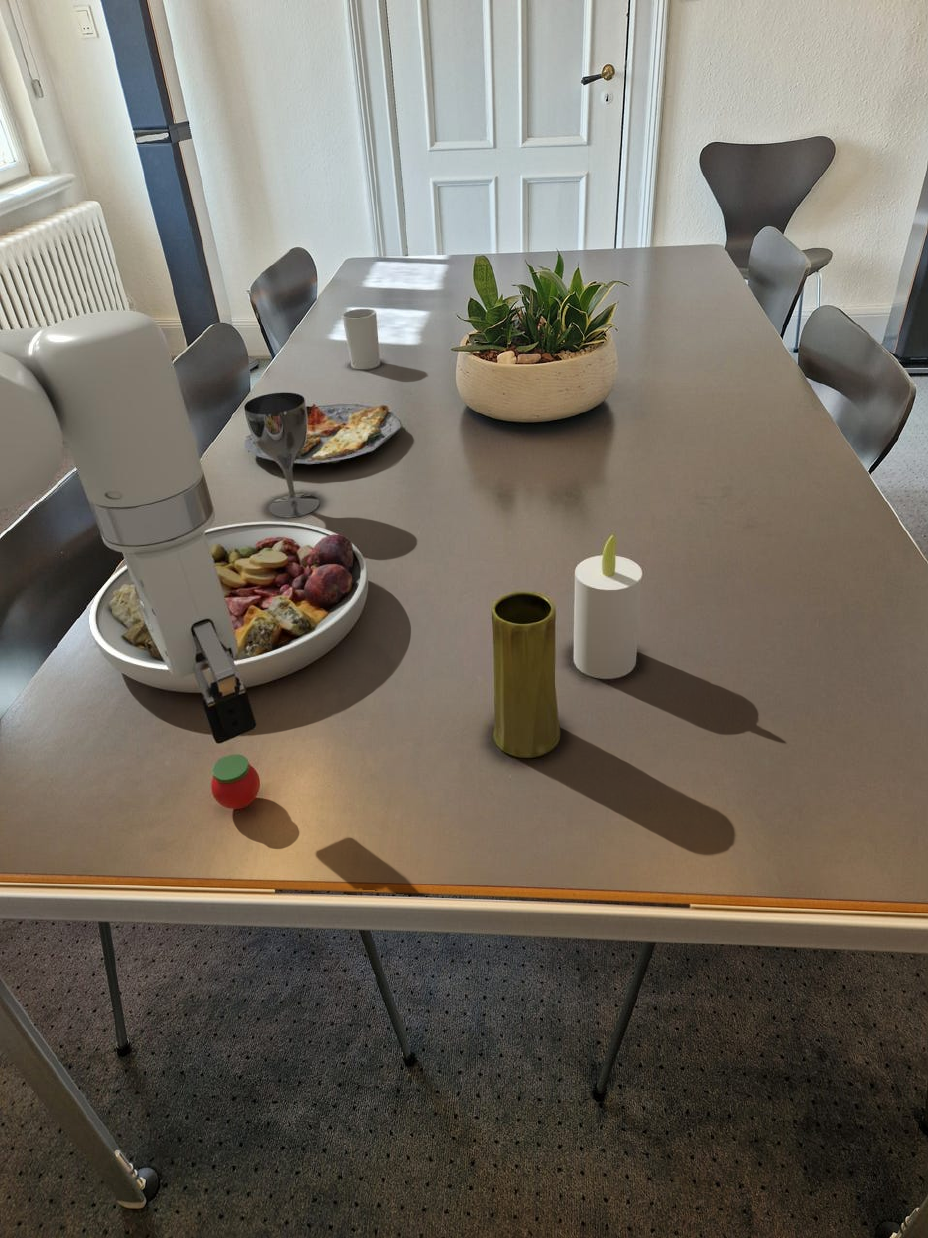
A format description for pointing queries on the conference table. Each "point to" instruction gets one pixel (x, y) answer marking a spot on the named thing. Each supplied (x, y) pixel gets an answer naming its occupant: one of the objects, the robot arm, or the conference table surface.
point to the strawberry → (234, 782)
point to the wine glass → (282, 443)
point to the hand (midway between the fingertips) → (216, 699)
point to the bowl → (250, 604)
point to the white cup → (362, 338)
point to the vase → (524, 674)
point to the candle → (606, 614)
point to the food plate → (340, 432)
